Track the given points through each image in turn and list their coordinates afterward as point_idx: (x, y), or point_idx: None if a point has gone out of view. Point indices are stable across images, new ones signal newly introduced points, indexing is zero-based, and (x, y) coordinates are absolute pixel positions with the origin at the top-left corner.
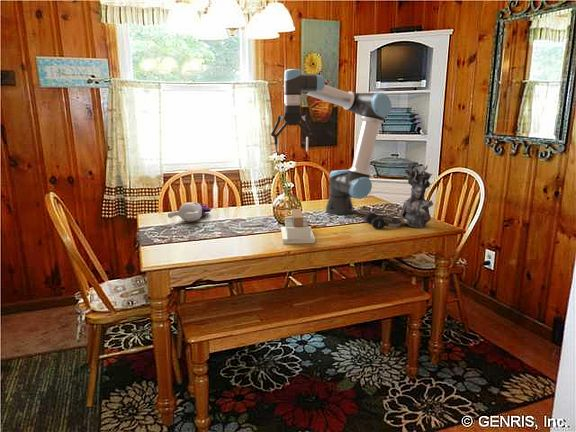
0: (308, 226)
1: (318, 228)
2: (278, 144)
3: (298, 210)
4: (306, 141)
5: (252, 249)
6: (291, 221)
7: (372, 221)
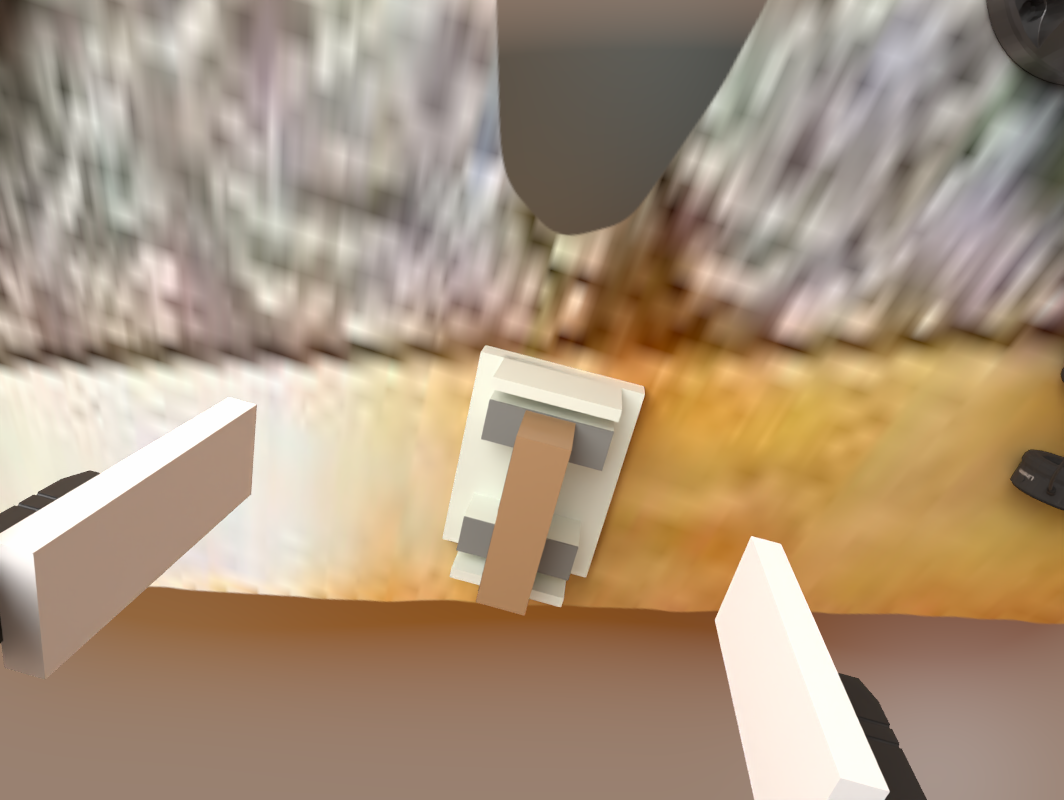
0: (570, 555)
1: (704, 364)
2: (155, 565)
3: (547, 478)
4: (762, 758)
5: (314, 547)
6: (512, 445)
7: (1032, 477)
